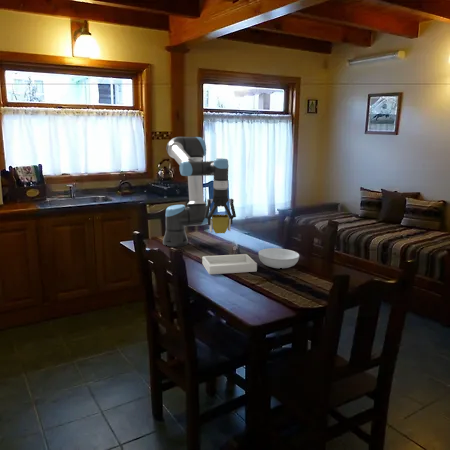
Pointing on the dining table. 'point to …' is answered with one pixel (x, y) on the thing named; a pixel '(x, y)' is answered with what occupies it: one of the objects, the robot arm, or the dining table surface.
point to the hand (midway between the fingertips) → (220, 230)
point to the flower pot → (220, 223)
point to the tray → (229, 264)
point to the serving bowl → (278, 257)
